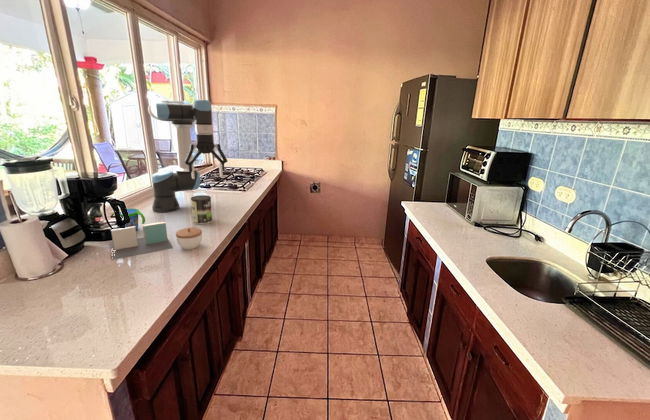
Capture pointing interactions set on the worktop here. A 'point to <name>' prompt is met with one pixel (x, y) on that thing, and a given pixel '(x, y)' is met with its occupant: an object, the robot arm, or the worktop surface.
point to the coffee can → (201, 209)
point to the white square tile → (124, 237)
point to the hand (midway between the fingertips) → (207, 177)
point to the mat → (140, 249)
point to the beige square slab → (155, 233)
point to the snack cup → (133, 217)
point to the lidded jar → (189, 238)
